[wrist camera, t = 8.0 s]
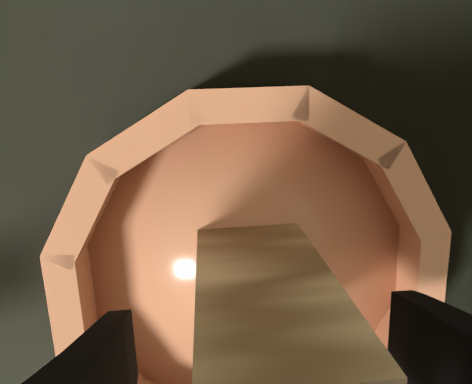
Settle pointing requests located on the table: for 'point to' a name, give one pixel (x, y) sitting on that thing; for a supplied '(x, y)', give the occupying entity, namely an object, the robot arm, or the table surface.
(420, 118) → the table surface
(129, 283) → the saucer
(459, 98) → the table surface
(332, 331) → the beige wooden block
